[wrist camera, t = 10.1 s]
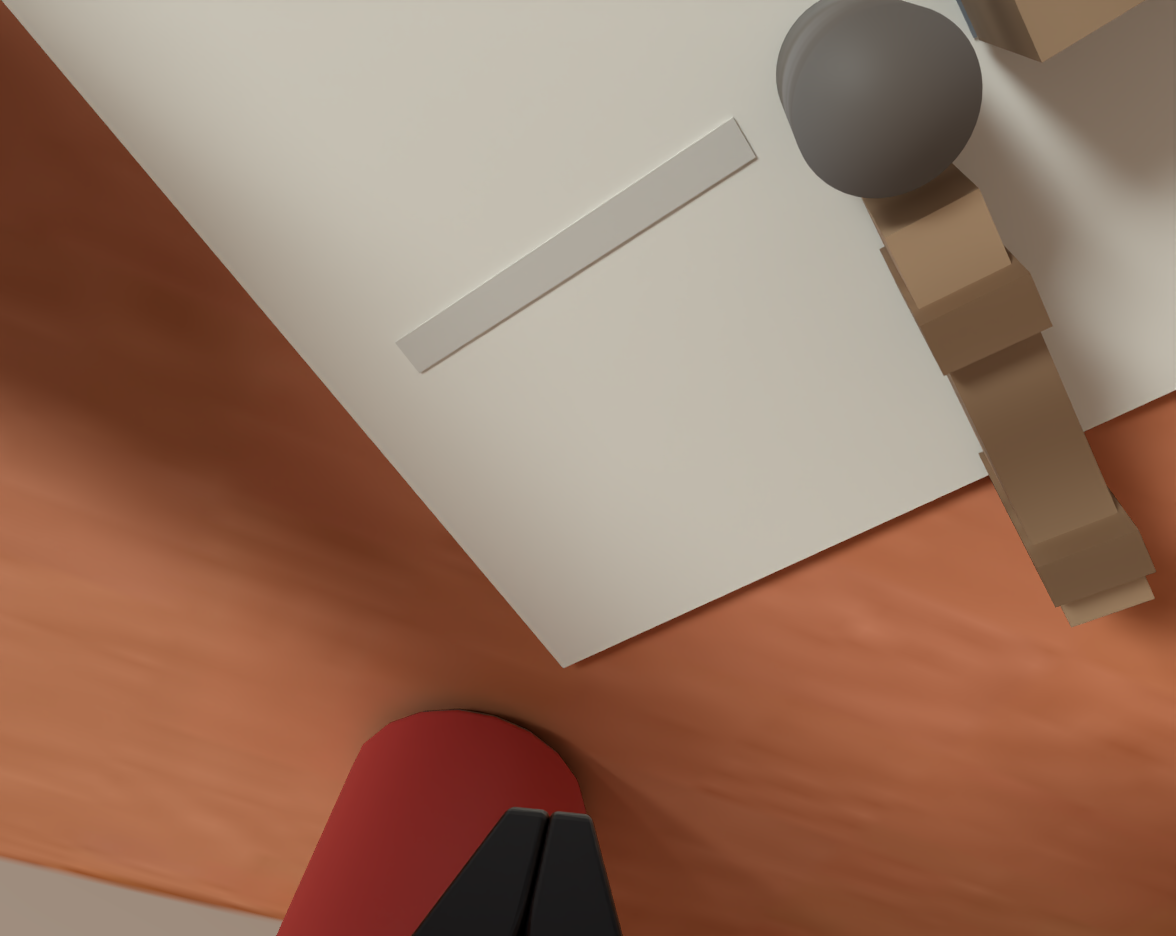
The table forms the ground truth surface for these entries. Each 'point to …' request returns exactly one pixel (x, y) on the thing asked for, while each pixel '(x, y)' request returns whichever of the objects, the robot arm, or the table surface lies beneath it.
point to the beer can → (420, 819)
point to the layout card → (627, 263)
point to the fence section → (906, 81)
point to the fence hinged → (1012, 393)
